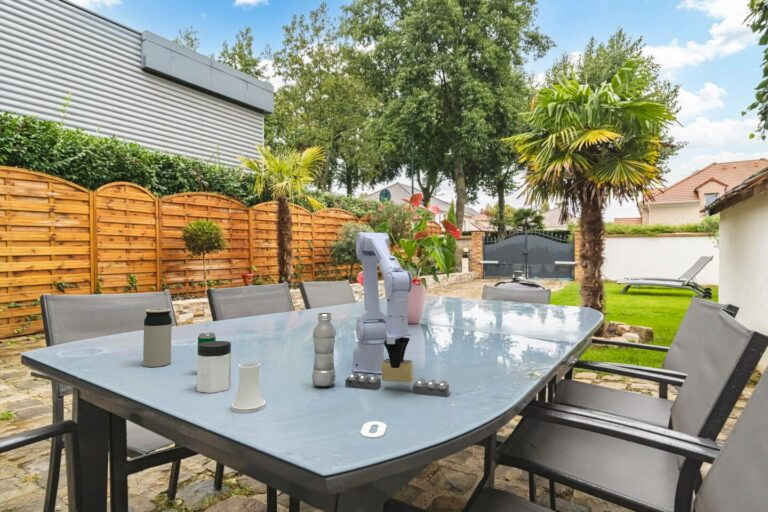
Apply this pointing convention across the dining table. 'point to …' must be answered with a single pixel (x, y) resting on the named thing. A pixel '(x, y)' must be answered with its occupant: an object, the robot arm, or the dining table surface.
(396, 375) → the gold block
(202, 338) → the soda can
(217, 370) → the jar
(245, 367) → the vase
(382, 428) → the chain link
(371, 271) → the robot arm
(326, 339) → the plastic bottle
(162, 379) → the dining table surface
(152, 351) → the travel mug
